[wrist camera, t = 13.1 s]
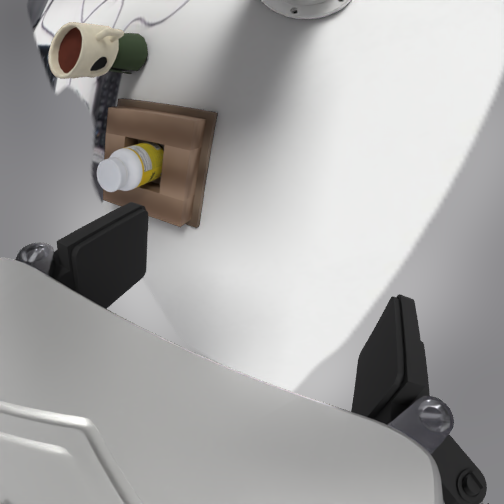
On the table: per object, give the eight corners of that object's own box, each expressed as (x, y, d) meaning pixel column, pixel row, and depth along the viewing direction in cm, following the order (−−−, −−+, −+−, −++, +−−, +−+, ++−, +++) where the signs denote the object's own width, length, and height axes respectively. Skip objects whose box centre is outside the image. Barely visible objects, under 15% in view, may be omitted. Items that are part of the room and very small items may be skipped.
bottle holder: (121, 98, 40) (104, 100, 37) (217, 112, 37) (203, 113, 34) (114, 197, 48) (98, 204, 45) (199, 225, 45) (186, 236, 42)
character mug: (111, 87, 40) (43, 94, 29) (104, 48, 37) (37, 46, 26) (168, 62, 36) (100, 56, 25) (160, 18, 33) (93, 2, 22)
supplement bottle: (147, 182, 44) (101, 202, 35) (135, 147, 42) (86, 161, 34) (176, 171, 42) (130, 191, 33) (163, 134, 40) (115, 146, 31)
